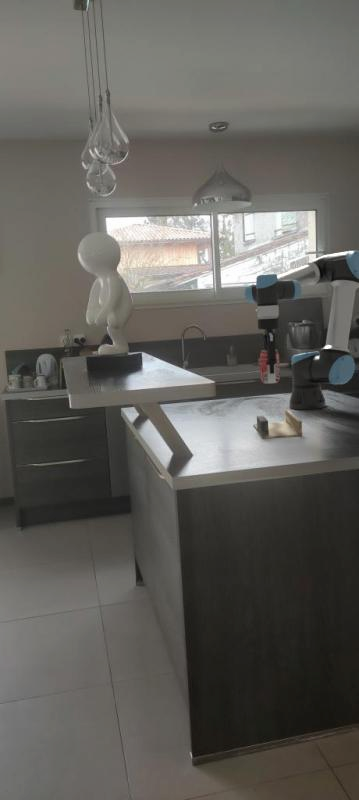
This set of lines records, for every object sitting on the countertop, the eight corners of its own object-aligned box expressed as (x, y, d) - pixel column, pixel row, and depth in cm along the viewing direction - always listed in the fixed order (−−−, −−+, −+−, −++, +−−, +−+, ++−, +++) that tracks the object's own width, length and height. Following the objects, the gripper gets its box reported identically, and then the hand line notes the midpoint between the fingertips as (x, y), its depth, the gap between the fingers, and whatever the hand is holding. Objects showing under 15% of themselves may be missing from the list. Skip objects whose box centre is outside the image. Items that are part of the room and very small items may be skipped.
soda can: (279, 381, 214) (278, 348, 213) (280, 383, 208) (279, 350, 206) (260, 382, 215) (259, 349, 214) (260, 384, 208) (259, 351, 207)
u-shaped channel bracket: (289, 422, 217) (288, 408, 216) (302, 435, 196) (301, 419, 195) (253, 425, 217) (252, 411, 216) (262, 438, 195) (261, 422, 195)
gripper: (254, 318, 218) (257, 378, 221) (261, 318, 198) (263, 385, 202) (274, 317, 218) (276, 377, 221) (283, 317, 198) (285, 384, 201)
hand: (270, 381), depth 211 cm, fingers closed on soda can, 7 cm apart
